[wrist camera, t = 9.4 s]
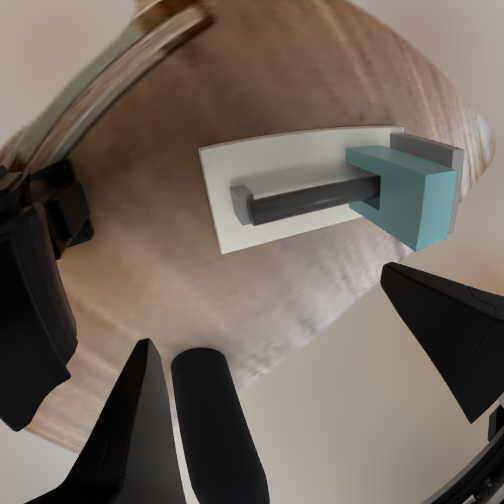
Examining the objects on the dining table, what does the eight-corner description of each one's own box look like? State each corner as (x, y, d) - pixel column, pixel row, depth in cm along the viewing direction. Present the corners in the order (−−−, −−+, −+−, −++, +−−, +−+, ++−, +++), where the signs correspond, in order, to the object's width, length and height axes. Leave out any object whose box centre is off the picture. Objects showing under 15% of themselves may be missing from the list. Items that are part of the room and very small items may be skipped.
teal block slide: (218, 245, 22) (246, 314, 15) (197, 148, 18) (217, 170, 11) (391, 201, 25) (452, 237, 18) (392, 125, 21) (465, 143, 14)
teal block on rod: (348, 207, 21) (415, 251, 15) (347, 148, 19) (425, 175, 12) (380, 200, 22) (446, 238, 16) (381, 145, 20) (456, 170, 13)
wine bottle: (172, 346, 26) (257, 633, 1) (231, 347, 28) (343, 604, 3) (169, 381, 28) (236, 617, 3) (221, 381, 31) (306, 598, 6)
